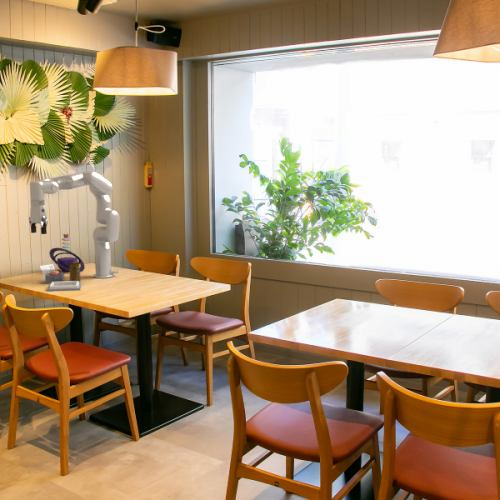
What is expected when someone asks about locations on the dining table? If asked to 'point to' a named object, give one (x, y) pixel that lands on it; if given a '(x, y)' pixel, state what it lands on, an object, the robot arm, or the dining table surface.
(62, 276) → the button housing
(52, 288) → the tray
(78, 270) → the condiment
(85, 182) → the robot arm
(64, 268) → the decorative bottle
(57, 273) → the button
